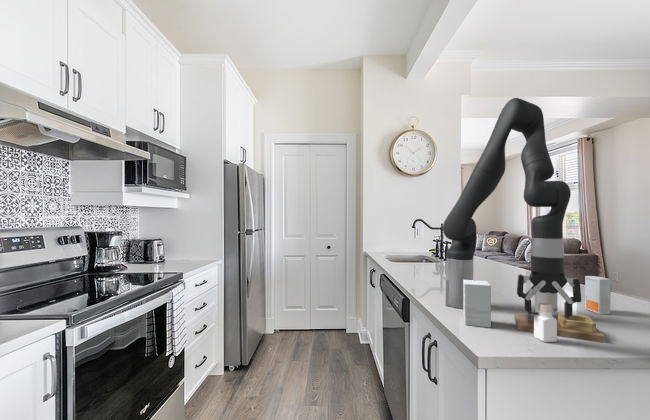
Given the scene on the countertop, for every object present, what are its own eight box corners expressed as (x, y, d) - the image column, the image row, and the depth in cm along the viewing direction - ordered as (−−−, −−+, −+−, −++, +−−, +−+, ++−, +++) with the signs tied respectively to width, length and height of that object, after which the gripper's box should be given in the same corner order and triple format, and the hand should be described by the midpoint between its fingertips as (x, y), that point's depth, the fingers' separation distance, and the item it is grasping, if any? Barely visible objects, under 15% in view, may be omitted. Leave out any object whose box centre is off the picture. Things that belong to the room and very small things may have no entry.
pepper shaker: (557, 342, 88) (558, 306, 88) (543, 342, 88) (543, 306, 88) (546, 337, 92) (546, 302, 92) (532, 337, 92) (533, 302, 92)
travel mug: (562, 319, 108) (562, 257, 108) (539, 317, 109) (539, 256, 109) (553, 313, 114) (553, 254, 114) (531, 312, 115) (532, 254, 116)
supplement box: (487, 320, 106) (488, 280, 106) (491, 328, 99) (491, 285, 99) (462, 318, 108) (462, 278, 108) (464, 325, 101) (464, 283, 101)
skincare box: (584, 309, 120) (584, 275, 120) (595, 309, 120) (595, 275, 120) (599, 314, 114) (599, 279, 114) (611, 314, 114) (611, 279, 114)
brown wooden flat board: (517, 330, 97) (517, 316, 97) (514, 318, 108) (514, 306, 108) (604, 342, 88) (604, 327, 88) (591, 328, 99) (591, 315, 99)
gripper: (518, 255, 90) (519, 315, 89) (583, 257, 84) (584, 322, 84) (515, 252, 97) (516, 308, 96) (575, 254, 91) (576, 314, 90)
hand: (547, 315), depth 90 cm, fingers open, 8 cm apart
